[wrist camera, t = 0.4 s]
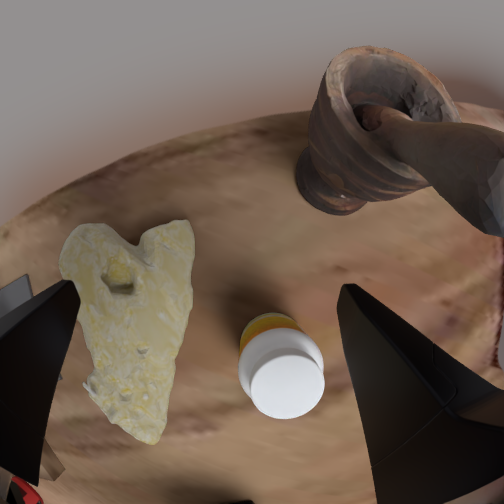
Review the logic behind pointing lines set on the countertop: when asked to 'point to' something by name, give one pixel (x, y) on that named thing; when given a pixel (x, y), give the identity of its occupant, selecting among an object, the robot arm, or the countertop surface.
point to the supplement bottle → (280, 366)
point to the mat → (15, 296)
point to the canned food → (27, 492)
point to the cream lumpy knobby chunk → (132, 317)
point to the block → (50, 464)
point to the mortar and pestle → (397, 141)
